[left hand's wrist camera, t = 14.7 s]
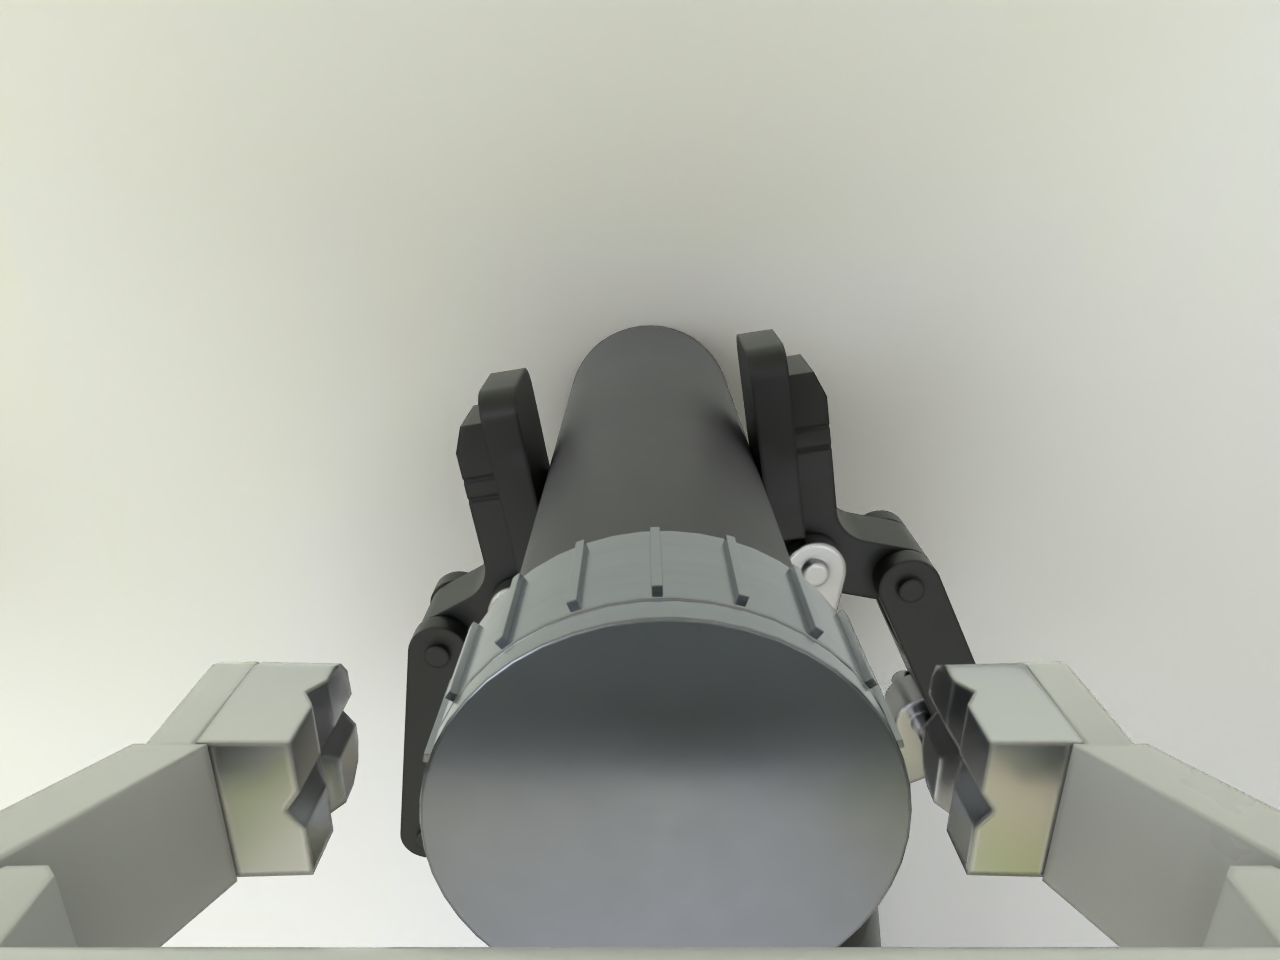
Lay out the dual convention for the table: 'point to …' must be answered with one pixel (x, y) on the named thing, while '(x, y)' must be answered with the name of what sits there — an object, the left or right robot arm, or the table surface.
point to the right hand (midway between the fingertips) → (629, 364)
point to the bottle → (651, 452)
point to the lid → (664, 757)
